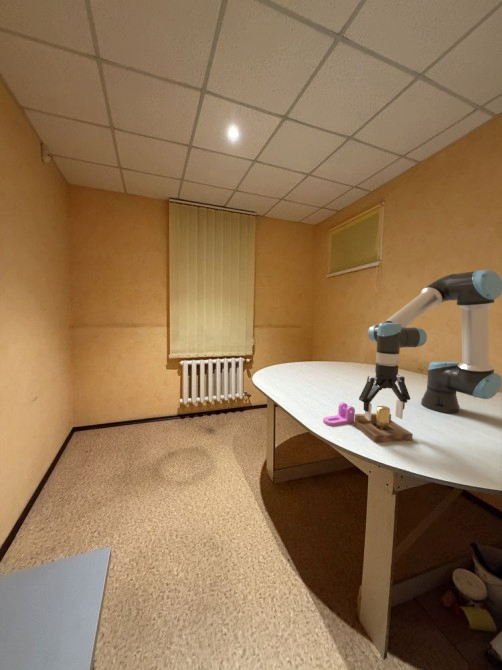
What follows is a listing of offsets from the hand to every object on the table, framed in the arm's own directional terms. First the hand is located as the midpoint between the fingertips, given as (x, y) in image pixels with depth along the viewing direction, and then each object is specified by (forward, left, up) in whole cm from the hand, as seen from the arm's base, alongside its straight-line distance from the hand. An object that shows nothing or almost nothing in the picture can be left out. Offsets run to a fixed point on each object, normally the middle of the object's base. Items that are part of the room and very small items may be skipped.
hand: (383, 418), depth 95 cm
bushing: (0, 0, -6) cm, 6 cm away
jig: (0, 0, -6) cm, 6 cm away
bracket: (+13, -11, -6) cm, 18 cm away
